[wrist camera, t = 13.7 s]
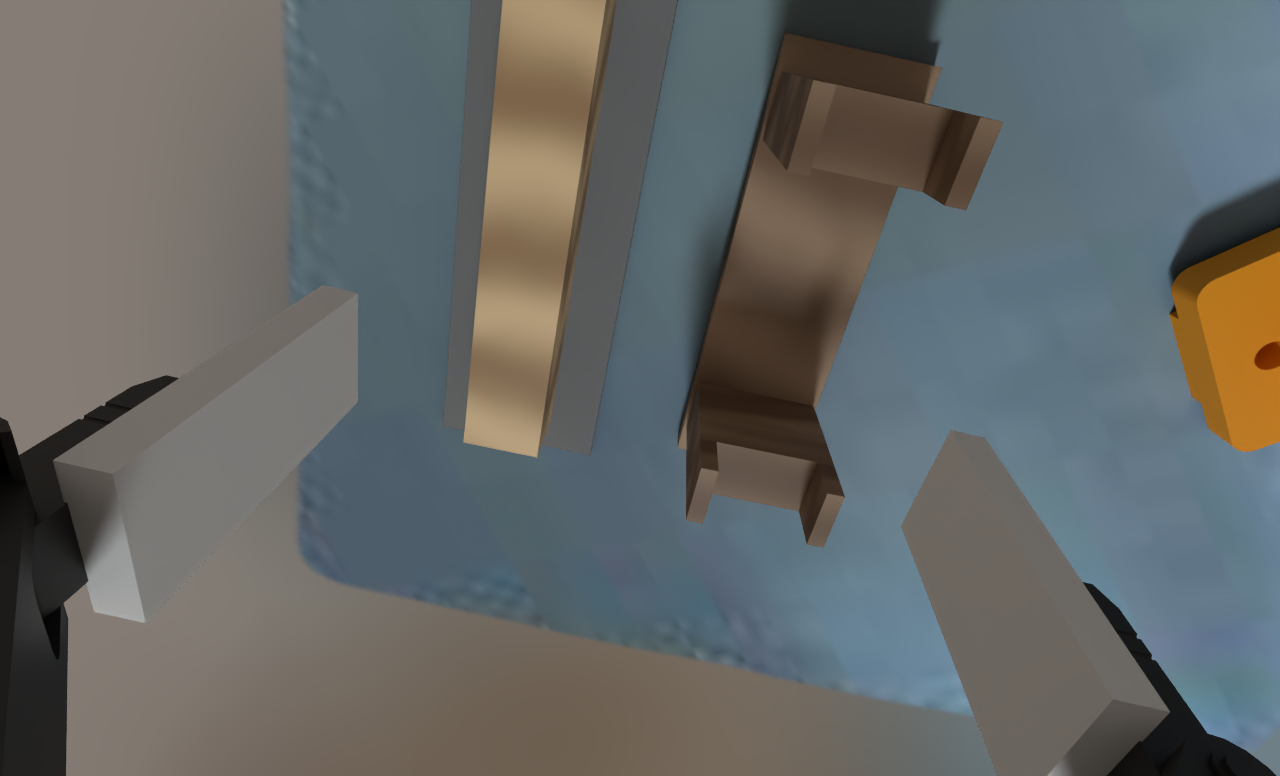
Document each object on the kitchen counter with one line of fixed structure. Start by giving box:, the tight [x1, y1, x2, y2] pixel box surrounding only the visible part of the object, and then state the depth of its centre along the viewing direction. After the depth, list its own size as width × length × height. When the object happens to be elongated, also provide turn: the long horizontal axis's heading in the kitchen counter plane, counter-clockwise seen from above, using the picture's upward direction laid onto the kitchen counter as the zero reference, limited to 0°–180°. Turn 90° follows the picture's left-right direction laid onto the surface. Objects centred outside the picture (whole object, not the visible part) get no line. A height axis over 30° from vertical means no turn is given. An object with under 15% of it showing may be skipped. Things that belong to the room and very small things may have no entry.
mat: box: [443, 0, 678, 455], centre depth 34 cm, size 26×9×1 cm, turn 169°
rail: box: [464, 0, 617, 457], centre depth 32 cm, size 22×4×4 cm, turn 169°
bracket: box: [678, 33, 1003, 548], centre depth 31 cm, size 22×7×10 cm, turn 169°
